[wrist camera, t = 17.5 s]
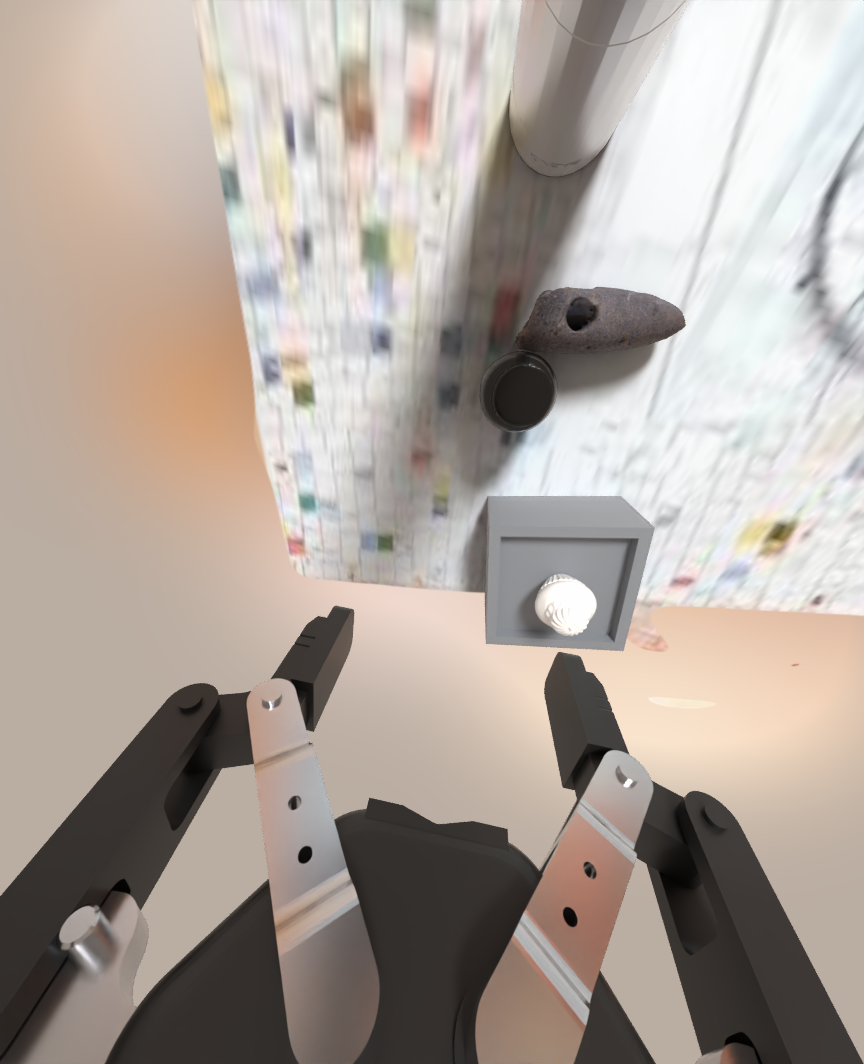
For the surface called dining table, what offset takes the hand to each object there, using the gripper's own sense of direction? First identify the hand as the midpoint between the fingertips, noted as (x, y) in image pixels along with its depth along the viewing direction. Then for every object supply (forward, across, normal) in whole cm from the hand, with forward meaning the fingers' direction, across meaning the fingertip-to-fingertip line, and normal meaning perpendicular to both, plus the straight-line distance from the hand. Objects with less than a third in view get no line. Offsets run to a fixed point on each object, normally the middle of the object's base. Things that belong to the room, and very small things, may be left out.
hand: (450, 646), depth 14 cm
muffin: (+24, -13, +11) cm, 30 cm away
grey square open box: (+32, -13, +11) cm, 37 cm away
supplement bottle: (+32, -3, -8) cm, 33 cm away
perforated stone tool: (+32, -9, -15) cm, 37 cm away
